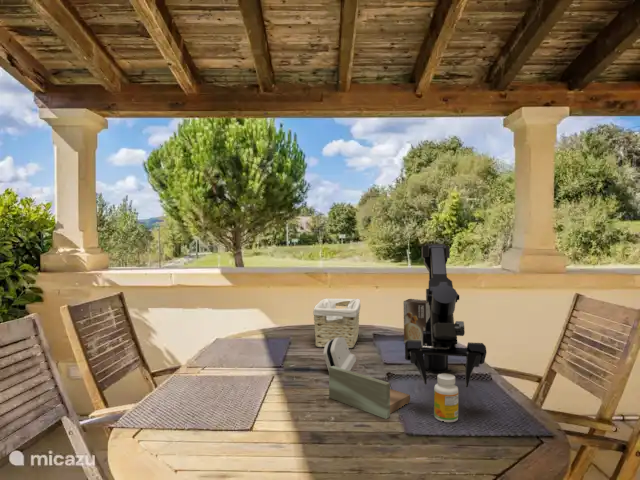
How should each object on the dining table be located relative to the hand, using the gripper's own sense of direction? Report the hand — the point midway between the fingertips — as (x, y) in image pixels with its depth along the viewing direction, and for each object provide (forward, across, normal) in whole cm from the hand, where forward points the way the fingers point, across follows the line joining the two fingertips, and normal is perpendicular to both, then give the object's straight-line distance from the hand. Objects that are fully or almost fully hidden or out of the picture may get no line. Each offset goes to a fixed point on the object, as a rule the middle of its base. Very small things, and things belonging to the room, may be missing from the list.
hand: (446, 385), depth 101 cm
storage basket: (-38, -35, +49) cm, 72 cm away
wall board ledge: (+1, -18, +10) cm, 21 cm away
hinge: (-17, -30, +28) cm, 44 cm away
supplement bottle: (+5, 0, +6) cm, 8 cm away
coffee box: (-39, -5, +50) cm, 64 cm away
